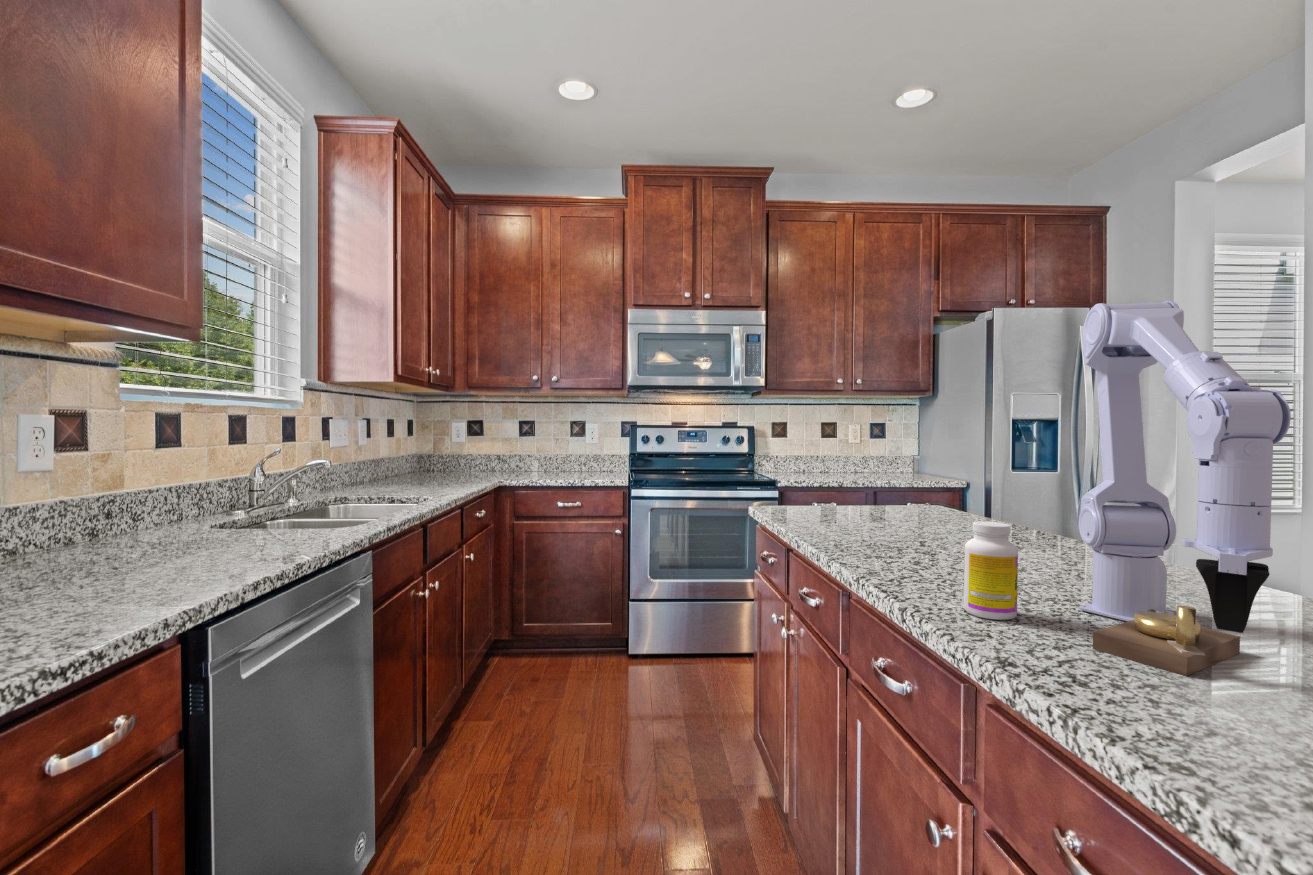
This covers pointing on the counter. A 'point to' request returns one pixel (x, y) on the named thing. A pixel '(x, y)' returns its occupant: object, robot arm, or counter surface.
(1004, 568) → the supplement bottle
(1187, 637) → the gold door handle
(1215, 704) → the counter surface
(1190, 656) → the stand
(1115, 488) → the robot arm
